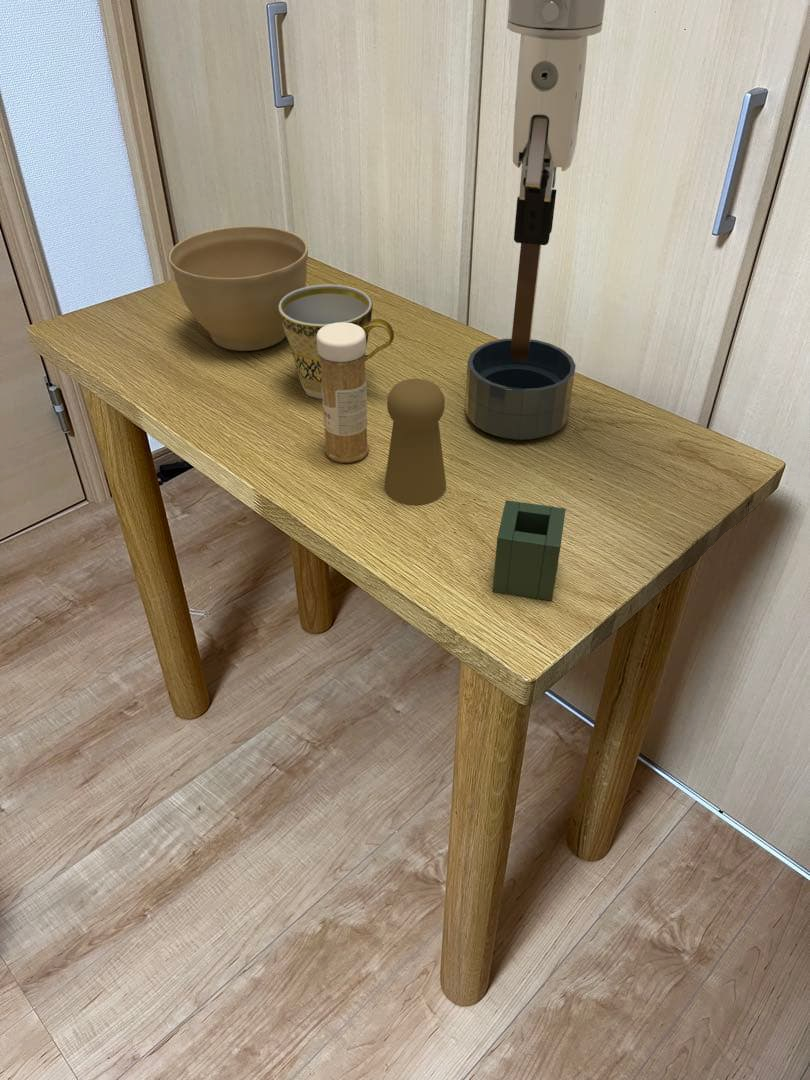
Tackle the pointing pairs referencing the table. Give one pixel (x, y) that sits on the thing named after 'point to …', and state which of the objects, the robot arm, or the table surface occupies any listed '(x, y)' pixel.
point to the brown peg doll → (415, 443)
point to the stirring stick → (525, 300)
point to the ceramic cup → (316, 310)
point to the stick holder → (528, 550)
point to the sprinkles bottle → (344, 390)
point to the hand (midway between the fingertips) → (532, 236)
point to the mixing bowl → (519, 390)
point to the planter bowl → (240, 282)
